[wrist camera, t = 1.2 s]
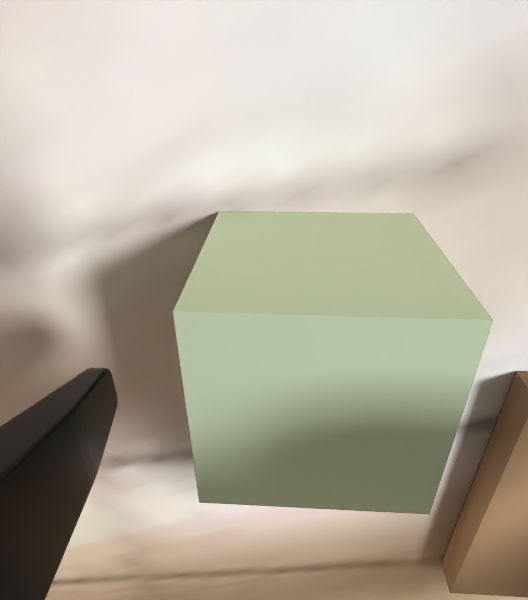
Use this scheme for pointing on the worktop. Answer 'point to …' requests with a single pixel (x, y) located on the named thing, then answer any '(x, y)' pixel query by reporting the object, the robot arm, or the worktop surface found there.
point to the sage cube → (325, 360)
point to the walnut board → (496, 510)
